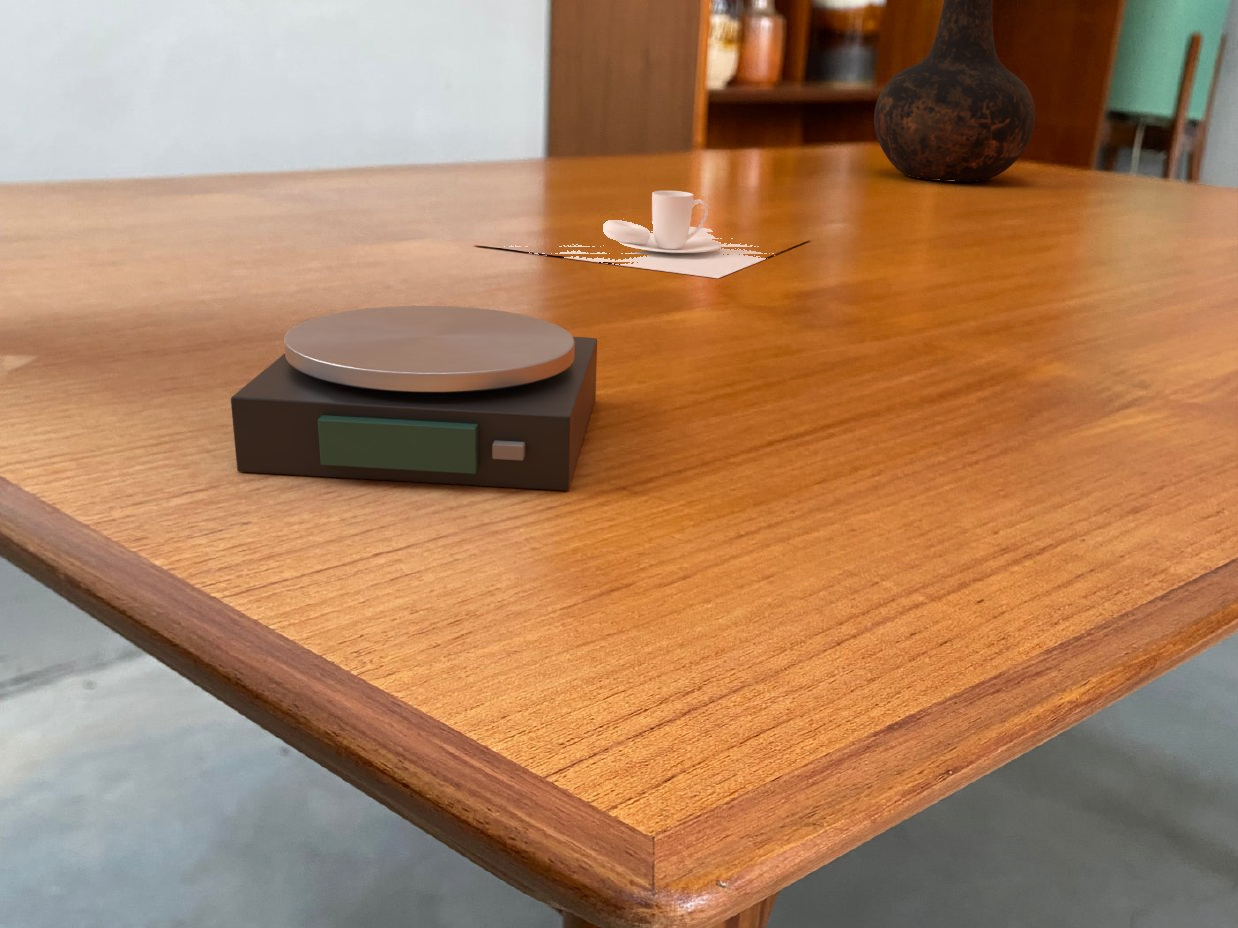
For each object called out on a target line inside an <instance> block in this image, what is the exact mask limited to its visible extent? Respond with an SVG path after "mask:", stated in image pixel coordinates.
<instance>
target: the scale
mask: <svg viewBox="0 0 1238 928" xmlns="http://www.w3.org/2000/svg"><path fill="white" fill-rule="evenodd" d="M573 339H574V341H575V349H574V361H573V363H572V364H571V366H570V367H569V368H568V369H566V370H565V371H564V372H562V373H560V374H558V375H556V376H553V377H551V378H548V379H545V380H542V381H538V382H535V383H531V384H526V385H521V386H516V387H510V388H504V389H496V390H487V391H475V392H457V393H412V392H394V391H381V390H373V389H364V388H358V387H352V386H346V385H341V384H336V383H332V382H328V381H324V380H321V379H317V378H314V377H312V376H309V375H306V374H304V373H302V372H300V371H298V370H296V369H295V368H293V367H292V366H291V365H290V364H289V363H288V361H287V360H286V357H285V352H284V353H283V354H282V355H281V356H279V357H278V358H277V359H276V360H275V361H274V362H272V363H271V364H270V365H268V366H267V367H266V368H265V369H263V370H262V371H261V372H260V373H259V374H257V375H256V376H255V377H254V378H253V379H252V380H250V381H249V382H248V383H246V384H245V385H244V386H243V387H241V388H240V389H239V390H238V391H237V392H236V393H234V394H233V395H232V396H231V397H230V405H231V417H232V429H233V439H234V440H233V441H234V449H235V459H236V460H235V461H236V470H237V472H239V473H252V474H253V473H254V474H255V473H256V474H271V475H272V474H273V475H286V476H287V475H288V476H289V475H290V476H305V477H306V476H308V477H323V478H324V477H325V478H343V479H359V480H375V481H389V482H391V481H392V482H408V483H409V482H410V483H425V484H441V485H442V484H444V485H461V486H475V487H492V488H493V487H494V488H495V487H496V488H511V489H529V490H542V491H543V490H545V491H561V492H568V491H569V489H570V487H571V484H572V479H573V477H574V473H575V470H576V466H577V463H578V460H579V456H580V453H581V449H582V446H583V442H584V440H585V436H586V432H587V429H588V426H589V424H590V419H591V415H592V412H593V409H594V406H595V402H596V399H597V398H596V396H597V367H598V366H597V365H598V338H596V337H587V336H586V337H584V336H583V337H582V336H573Z"/></svg>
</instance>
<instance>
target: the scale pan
mask: <svg viewBox="0 0 1238 928" xmlns="http://www.w3.org/2000/svg"><path fill="white" fill-rule="evenodd" d="M573 337H574V336H573V335H572V334H571V333H570V331H568V330H567V329H565V328H564V327H561V326H560V325H558V324H555V323H553V322H550V321H547V320H544V319H542V318H538V317H533V316H531V315H525V314H522V313H521V314H520V313H516V312H511V311H510V312H509V311H504V310H497V309H491V308H490V309H489V308H480V307H479V308H478V307H468V306H467V307H466V306H451V305H398V306H397V305H396V306H395V305H394V306H378V307H368V308H359V309H351V310H350V309H349V310H344V311H338V312H333V313H328V314H325V315H320V316H316V317H313V318H310V319H307V320H304V321H302V322H300V323H297V324H296V325H294V326H293V327H291V328H290V329H288V330H287V332H286V333H285V335H284V337H283V345H284V353H285V357H286V360H287V361H288V363H289V364H290V365H291V366H292V367H293V368H295V369H296V370H298V371H300V372H302V373H304V374H306V375H309V376H312V377H314V378H317V379H321V380H324V381H328V382H332V383H336V384H341V385H346V386H352V387H358V388H364V389H373V390H381V391H394V392H412V393H457V392H475V391H487V390H496V389H504V388H510V387H516V386H521V385H526V384H531V383H535V382H538V381H542V380H545V379H548V378H551V377H553V376H556V375H558V374H560V373H562V372H564V371H565V370H566V369H568V368H569V367H570V366H571V364H572V363H573V361H574V349H575V341H574V339H573Z"/></svg>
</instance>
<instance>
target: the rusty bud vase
mask: <svg viewBox="0 0 1238 928" xmlns="http://www.w3.org/2000/svg"><path fill="white" fill-rule="evenodd" d="M993 24H994V23H993V0H943V3H942V9H941V14H940V18H939V22H938V26H937V30H936V34H935V37H934V40H933V43H932V46H931V48H930V50H929V52H928V53H927V55H926V56H925V57H924V58H923V59H922V60H921V61H920V62H918V63H916V64H914V65H912V66H909V67H906V68H904V69H903V70H901V71H899V72H898V73H896V74H895V75H894V76H893V77H892V78H891V79H890V80H889V81H887V83H886V84H885V85H884V87H883V88H882V90H881V91H880V93H879V95H878V98H877V100H876V103H875V107H874V112H873V113H874V115H873V124H874V131H875V135H876V137H877V138H876V139H877V141H878V143H879V144H878V145H880V148H881V150H882V152H883V153H884V155H885V157H886V158H887V160H888V161H889V162H890V164H891V165H892V166H893V167H894V168H895V169H896V170H898V172H900V173H901V174H904V175H905V174H906V175H905V176H907V175H910V176H914V177H919V178H918V179H920V178H927V179H926V180H928V179H940V180H955V181H975V182H977V181H976V180H983V181H986V179H987V180H989V179H990V180H991V179H993V178H995V177H997V176H999V175H1001V174H1002V173H1004V172H1006V171H1007V170H1008V169H1009V168H1010V167H1012V166H1013V165H1014V164H1015V162H1016V161H1018V159H1019V158H1020V157H1021V155H1022V154H1024V152H1025V150H1026V148H1027V146H1028V145H1029V142H1030V140H1031V138H1032V134H1033V132H1034V128H1035V123H1036V107H1035V103H1034V99H1033V95H1032V94H1031V91H1030V90H1029V88H1028V87H1027V85H1026V84H1025V82H1024V81H1023V80H1022V79H1020V78H1019V77H1018V76H1017V75H1016V74H1014V73H1013V72H1012V71H1010V70H1009V69H1007V68H1006V66H1004V65H1003V64H1002V62H1001V61H1000V59H999V57H998V55H997V51H996V45H995V37H994V25H993ZM910 176H909V177H910ZM914 177H913V178H914Z"/></svg>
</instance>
